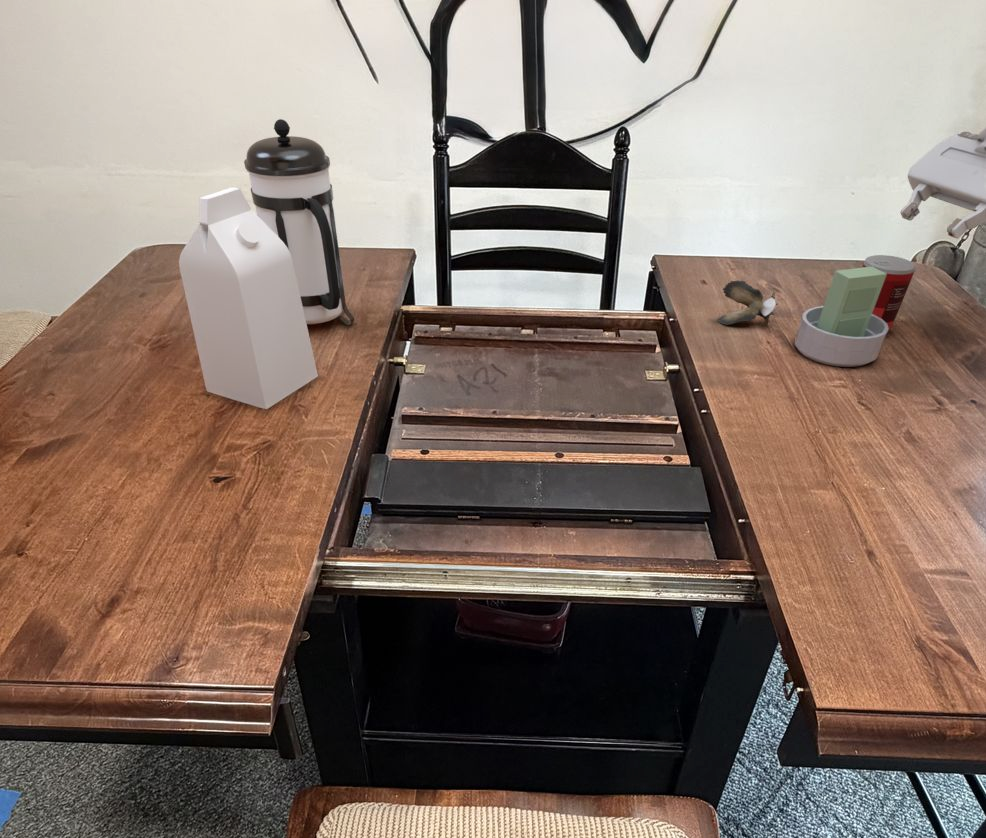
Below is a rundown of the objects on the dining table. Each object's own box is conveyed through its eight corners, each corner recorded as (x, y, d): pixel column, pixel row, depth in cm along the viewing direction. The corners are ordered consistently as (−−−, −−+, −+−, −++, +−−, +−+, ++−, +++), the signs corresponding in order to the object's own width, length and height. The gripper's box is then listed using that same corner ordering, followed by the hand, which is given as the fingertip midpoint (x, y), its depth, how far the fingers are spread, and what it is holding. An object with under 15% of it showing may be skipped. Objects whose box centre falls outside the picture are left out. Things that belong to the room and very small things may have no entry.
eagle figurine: (764, 305, 130) (717, 294, 129) (784, 280, 123) (735, 268, 122) (760, 341, 128) (713, 330, 128) (780, 318, 121) (730, 306, 121)
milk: (260, 360, 114) (219, 177, 96) (318, 376, 110) (286, 188, 92) (206, 391, 106) (150, 198, 88) (266, 409, 102) (220, 211, 85)
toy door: (810, 344, 119) (834, 270, 111) (845, 339, 121) (871, 266, 112) (824, 354, 117) (849, 278, 108) (859, 348, 118) (887, 273, 110)
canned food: (839, 317, 129) (861, 253, 122) (885, 321, 128) (910, 256, 121) (845, 333, 124) (869, 268, 116) (894, 338, 123) (921, 272, 115)
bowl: (872, 340, 122) (883, 311, 119) (880, 373, 113) (892, 342, 110) (792, 330, 125) (801, 301, 121) (794, 362, 116) (803, 332, 112)
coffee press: (251, 334, 121) (204, 127, 100) (294, 300, 132) (260, 107, 112) (344, 347, 118) (315, 135, 97) (381, 311, 129) (362, 114, 108)
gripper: (951, 113, 105) (872, 192, 110) (1071, 139, 91) (974, 229, 95) (962, 146, 109) (885, 221, 114) (1079, 176, 95) (985, 261, 99)
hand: (927, 225), depth 104 cm, fingers open, 8 cm apart
